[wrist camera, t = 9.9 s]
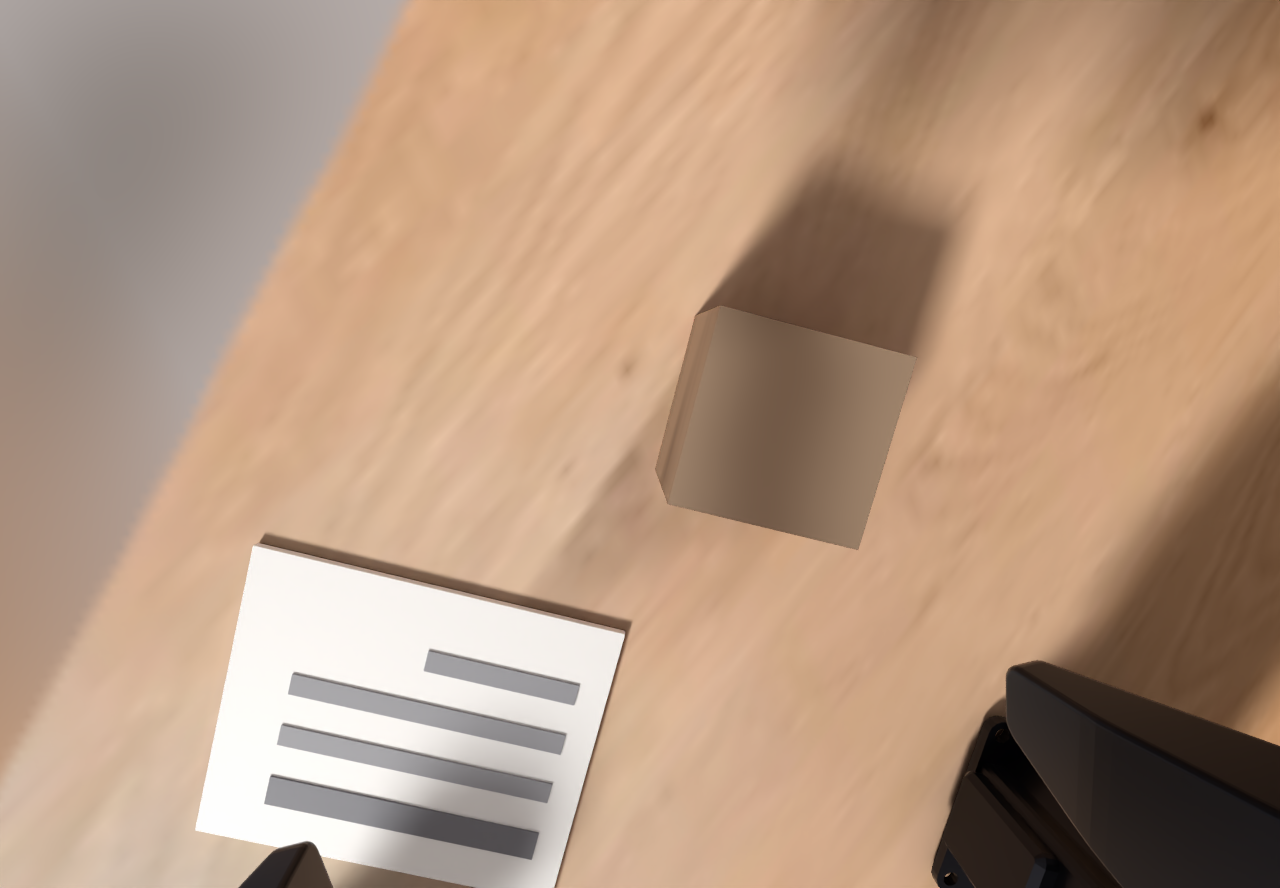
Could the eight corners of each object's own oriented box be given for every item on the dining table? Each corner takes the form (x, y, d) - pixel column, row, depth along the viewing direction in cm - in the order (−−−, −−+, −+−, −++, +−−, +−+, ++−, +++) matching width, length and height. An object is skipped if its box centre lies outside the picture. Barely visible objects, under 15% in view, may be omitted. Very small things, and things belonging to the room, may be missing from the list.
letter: (625, 630, 22) (625, 635, 22) (550, 895, 23) (549, 904, 23) (257, 542, 21) (251, 546, 21) (200, 823, 22) (194, 831, 22)
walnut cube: (846, 355, 21) (917, 357, 16) (802, 505, 22) (858, 550, 17) (695, 315, 21) (720, 305, 16) (654, 468, 22) (667, 504, 17)
